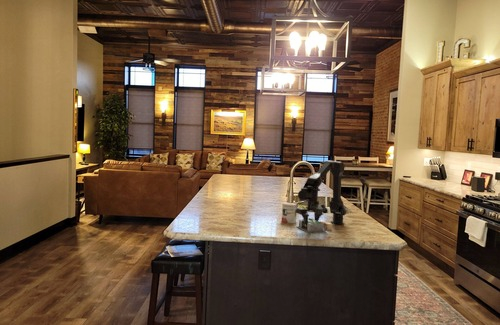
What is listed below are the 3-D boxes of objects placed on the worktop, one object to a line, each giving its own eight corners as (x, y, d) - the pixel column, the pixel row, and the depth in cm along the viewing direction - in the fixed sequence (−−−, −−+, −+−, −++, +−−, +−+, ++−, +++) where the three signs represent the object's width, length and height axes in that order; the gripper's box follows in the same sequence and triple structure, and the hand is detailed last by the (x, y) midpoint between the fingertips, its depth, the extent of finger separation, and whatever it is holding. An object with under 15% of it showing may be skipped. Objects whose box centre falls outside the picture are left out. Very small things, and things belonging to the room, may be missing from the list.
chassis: (296, 227, 224) (297, 219, 224) (312, 226, 229) (312, 218, 228) (309, 233, 212) (310, 224, 211) (325, 232, 216) (326, 223, 216)
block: (319, 226, 229) (319, 220, 228) (323, 226, 230) (323, 220, 230) (327, 229, 221) (327, 224, 221) (331, 229, 223) (331, 223, 222)
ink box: (281, 221, 237) (281, 203, 237) (283, 220, 242) (284, 202, 241) (294, 223, 234) (295, 204, 233) (296, 221, 239) (297, 203, 238)
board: (302, 221, 223) (303, 217, 223) (311, 220, 225) (311, 216, 225) (311, 225, 215) (311, 220, 214) (320, 224, 217) (320, 220, 217)
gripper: (306, 201, 208) (305, 229, 209) (334, 200, 215) (332, 227, 217) (296, 198, 218) (294, 224, 219) (322, 197, 225) (321, 222, 227)
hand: (311, 225), depth 220 cm, fingers closed on board, 6 cm apart
